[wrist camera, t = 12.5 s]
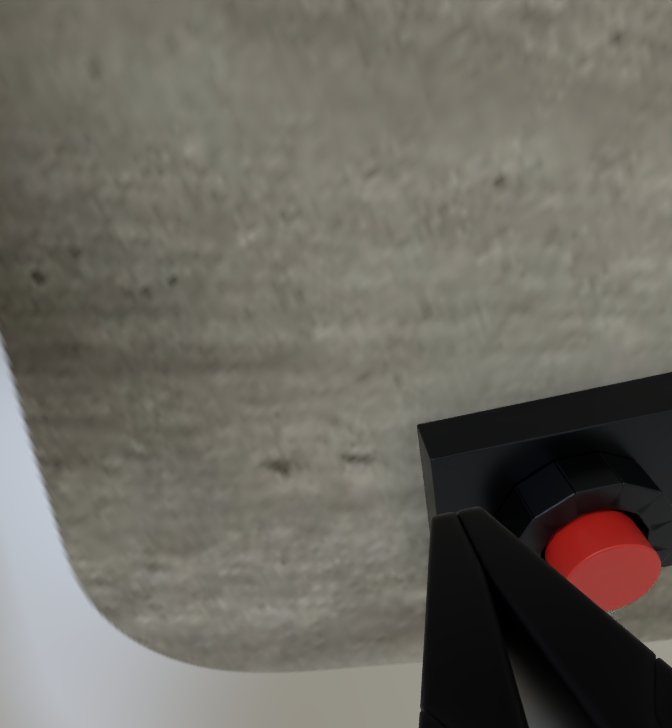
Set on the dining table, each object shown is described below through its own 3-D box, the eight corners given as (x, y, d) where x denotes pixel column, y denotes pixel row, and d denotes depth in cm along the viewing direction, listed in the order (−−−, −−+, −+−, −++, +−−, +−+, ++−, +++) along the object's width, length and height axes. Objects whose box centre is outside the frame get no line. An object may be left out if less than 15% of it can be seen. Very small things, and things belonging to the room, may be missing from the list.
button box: (434, 573, 28) (459, 650, 25) (416, 424, 23) (443, 494, 20) (660, 526, 28) (715, 596, 25) (687, 368, 23) (760, 428, 20)
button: (542, 583, 24) (562, 621, 22) (544, 520, 22) (565, 557, 20) (630, 564, 24) (656, 602, 22) (639, 499, 22) (668, 536, 20)
